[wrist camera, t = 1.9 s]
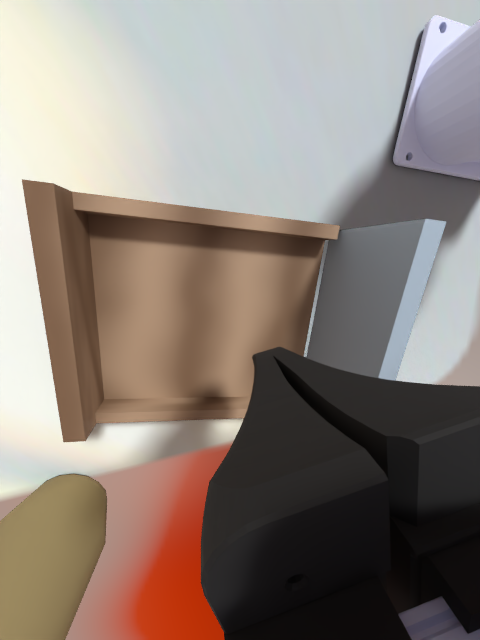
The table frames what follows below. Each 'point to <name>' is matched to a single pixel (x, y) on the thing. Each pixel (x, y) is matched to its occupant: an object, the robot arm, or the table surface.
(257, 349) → the tray
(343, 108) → the table surface
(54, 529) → the squeeze bottle
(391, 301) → the panel
